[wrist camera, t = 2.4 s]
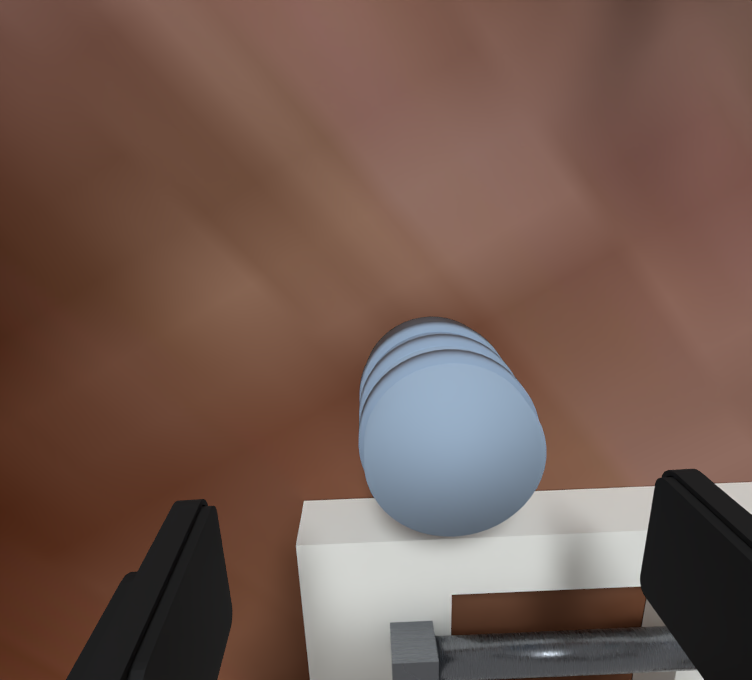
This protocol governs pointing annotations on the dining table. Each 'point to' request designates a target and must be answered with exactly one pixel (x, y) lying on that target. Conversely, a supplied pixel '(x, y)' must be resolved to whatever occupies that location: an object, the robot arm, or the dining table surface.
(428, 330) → the stacked blue discs
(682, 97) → the dining table surface
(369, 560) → the white frame with handle
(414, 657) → the dark gray bar handle
